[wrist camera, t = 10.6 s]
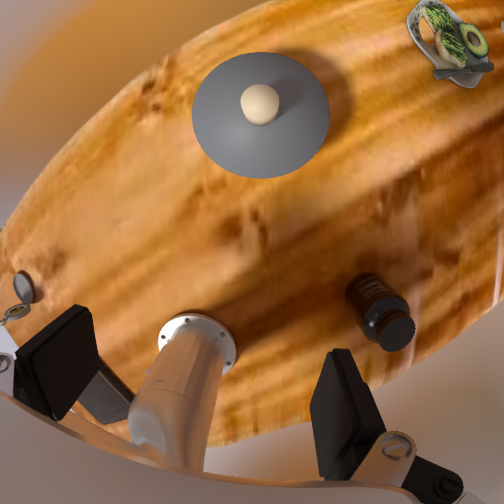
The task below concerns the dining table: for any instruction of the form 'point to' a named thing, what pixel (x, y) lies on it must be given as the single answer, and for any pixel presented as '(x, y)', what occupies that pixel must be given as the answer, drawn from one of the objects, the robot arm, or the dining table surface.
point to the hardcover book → (106, 398)
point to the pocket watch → (25, 296)
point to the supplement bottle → (380, 312)
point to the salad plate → (450, 44)
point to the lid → (260, 115)
